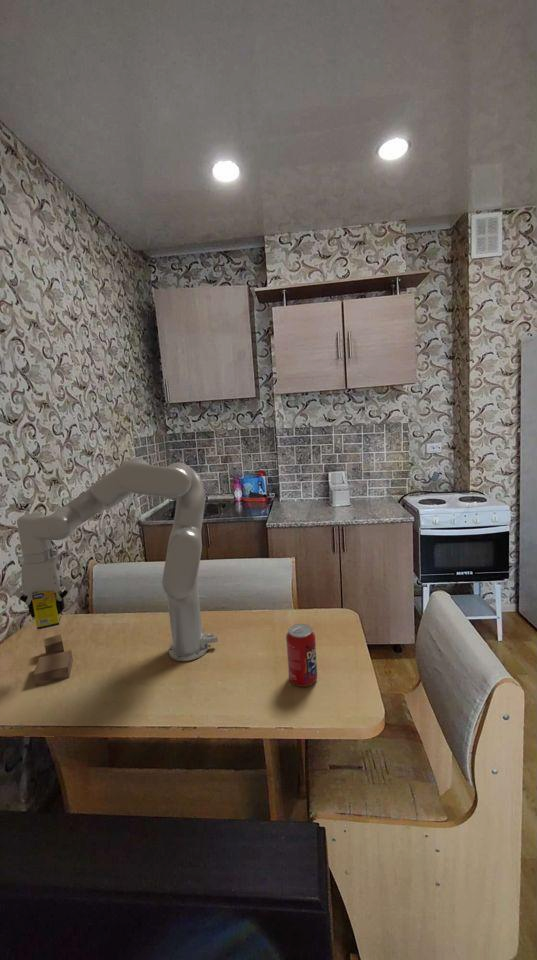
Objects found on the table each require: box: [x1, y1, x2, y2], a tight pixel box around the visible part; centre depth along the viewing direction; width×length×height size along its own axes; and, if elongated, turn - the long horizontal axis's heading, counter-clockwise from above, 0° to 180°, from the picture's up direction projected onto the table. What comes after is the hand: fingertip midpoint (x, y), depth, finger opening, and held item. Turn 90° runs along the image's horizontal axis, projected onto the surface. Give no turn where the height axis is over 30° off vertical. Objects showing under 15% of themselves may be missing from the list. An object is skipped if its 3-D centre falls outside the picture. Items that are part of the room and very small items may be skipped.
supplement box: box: [31, 591, 62, 630], centre depth 123 cm, size 6×6×11 cm
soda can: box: [285, 623, 318, 687], centre depth 114 cm, size 8×8×15 cm
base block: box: [32, 649, 74, 687], centre depth 126 cm, size 9×9×4 cm
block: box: [43, 633, 65, 656], centre depth 136 cm, size 5×5×5 cm
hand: (47, 613), depth 123 cm, fingers closed on supplement box, 6 cm apart
